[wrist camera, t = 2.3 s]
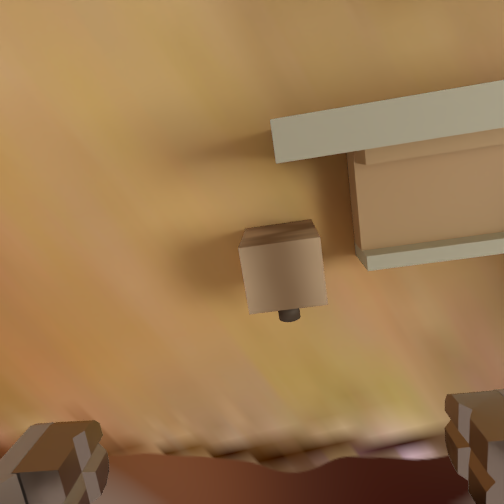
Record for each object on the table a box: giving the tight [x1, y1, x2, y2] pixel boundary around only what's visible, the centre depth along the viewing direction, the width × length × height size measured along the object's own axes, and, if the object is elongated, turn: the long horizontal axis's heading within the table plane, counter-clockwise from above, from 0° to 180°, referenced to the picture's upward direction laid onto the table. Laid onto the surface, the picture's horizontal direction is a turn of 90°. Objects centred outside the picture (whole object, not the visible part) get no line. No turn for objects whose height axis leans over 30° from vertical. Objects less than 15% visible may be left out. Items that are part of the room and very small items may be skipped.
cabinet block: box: [238, 219, 328, 322], centre depth 27 cm, size 5×5×6 cm
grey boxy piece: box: [270, 80, 504, 271], centre depth 23 cm, size 22×10×10 cm, turn 99°
